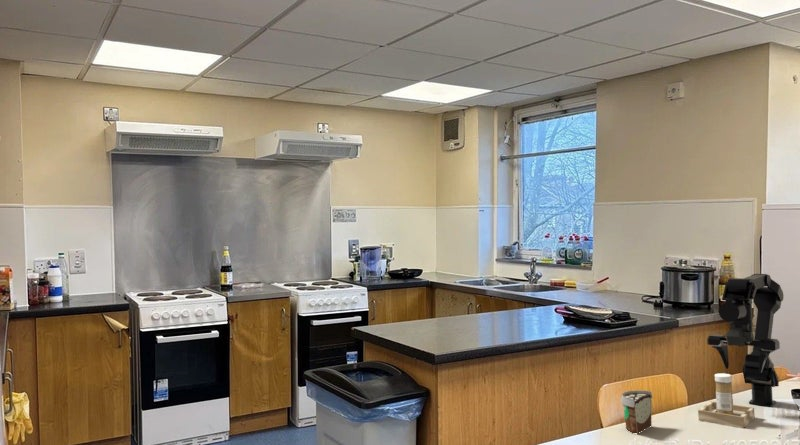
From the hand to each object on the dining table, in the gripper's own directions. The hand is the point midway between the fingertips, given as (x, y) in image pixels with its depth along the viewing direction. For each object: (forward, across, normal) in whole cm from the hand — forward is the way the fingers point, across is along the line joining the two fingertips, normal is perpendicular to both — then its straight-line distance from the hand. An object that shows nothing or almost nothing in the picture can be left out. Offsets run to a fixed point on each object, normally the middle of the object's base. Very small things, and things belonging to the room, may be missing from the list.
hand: (743, 370), depth 186 cm
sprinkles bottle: (+14, -3, -9) cm, 17 cm away
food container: (+15, -21, -32) cm, 41 cm away
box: (+14, -3, -8) cm, 16 cm away
